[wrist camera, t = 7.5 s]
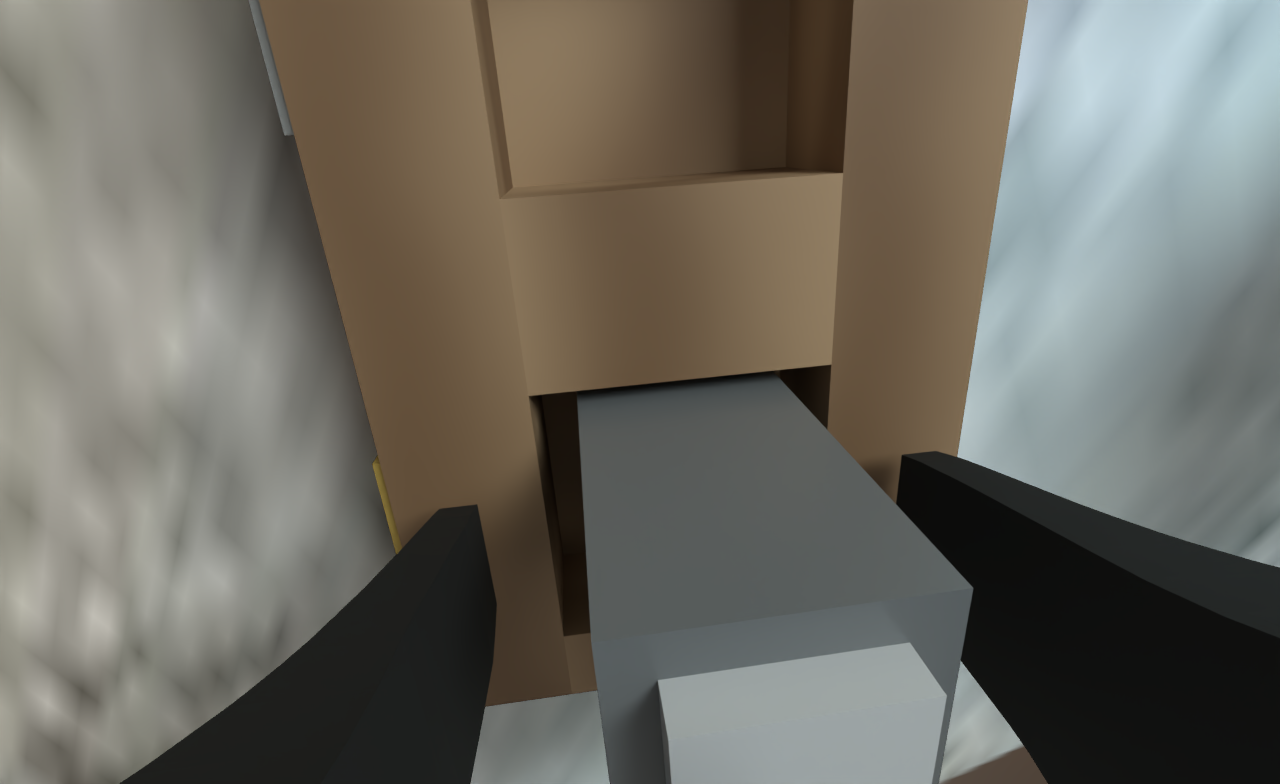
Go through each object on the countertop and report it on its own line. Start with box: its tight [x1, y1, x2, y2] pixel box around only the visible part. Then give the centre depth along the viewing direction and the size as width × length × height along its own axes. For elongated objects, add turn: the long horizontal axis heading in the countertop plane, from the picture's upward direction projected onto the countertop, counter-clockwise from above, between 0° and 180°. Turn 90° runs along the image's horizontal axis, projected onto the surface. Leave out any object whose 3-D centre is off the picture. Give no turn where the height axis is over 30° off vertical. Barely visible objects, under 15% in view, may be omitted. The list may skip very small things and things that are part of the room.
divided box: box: [248, 0, 1028, 707], centre depth 11 cm, size 10×16×3 cm, turn 4°
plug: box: [577, 371, 973, 784], centre depth 9 cm, size 4×4×8 cm
